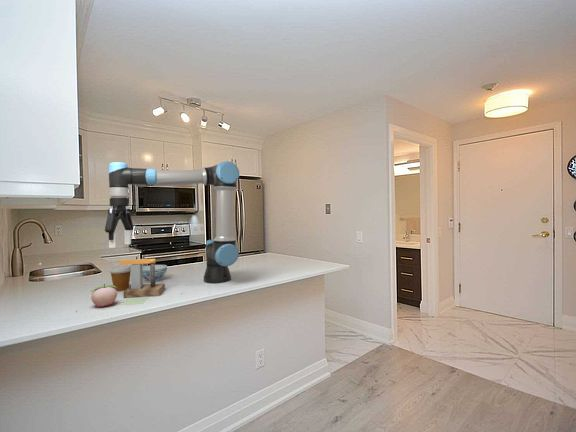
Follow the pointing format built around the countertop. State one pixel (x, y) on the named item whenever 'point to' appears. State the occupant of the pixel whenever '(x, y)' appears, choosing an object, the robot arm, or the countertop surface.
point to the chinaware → (159, 272)
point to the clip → (137, 261)
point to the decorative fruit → (104, 295)
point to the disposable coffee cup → (120, 277)
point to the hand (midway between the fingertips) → (120, 245)
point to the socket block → (146, 287)
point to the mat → (134, 301)
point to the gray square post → (136, 276)
